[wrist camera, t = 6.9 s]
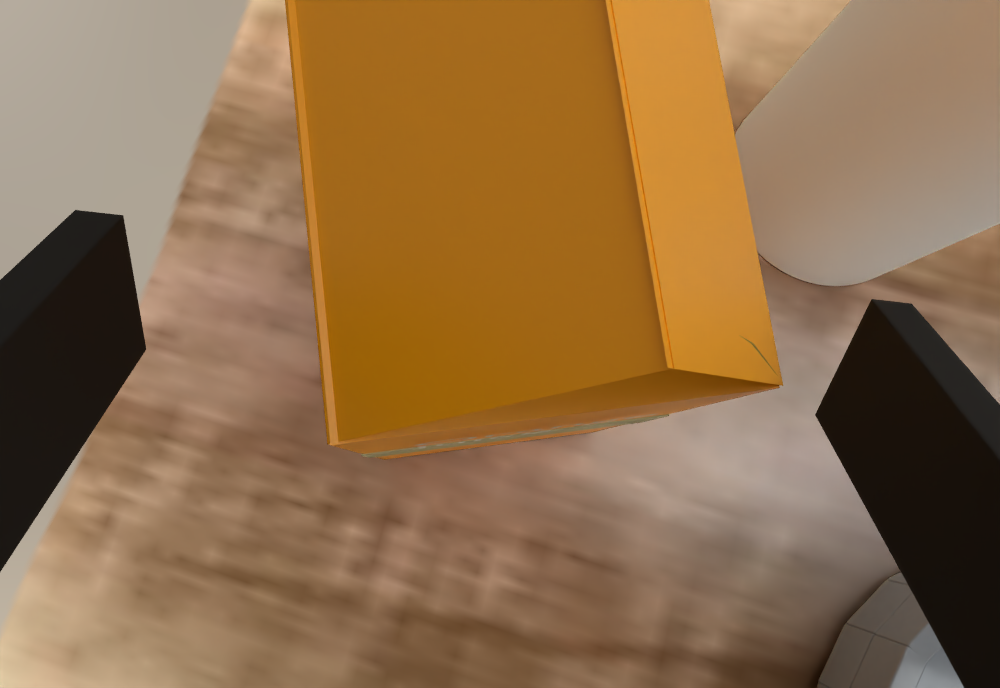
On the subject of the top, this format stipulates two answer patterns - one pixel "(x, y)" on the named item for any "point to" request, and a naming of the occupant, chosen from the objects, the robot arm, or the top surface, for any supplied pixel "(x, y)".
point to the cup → (878, 141)
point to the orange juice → (521, 219)
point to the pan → (889, 646)
